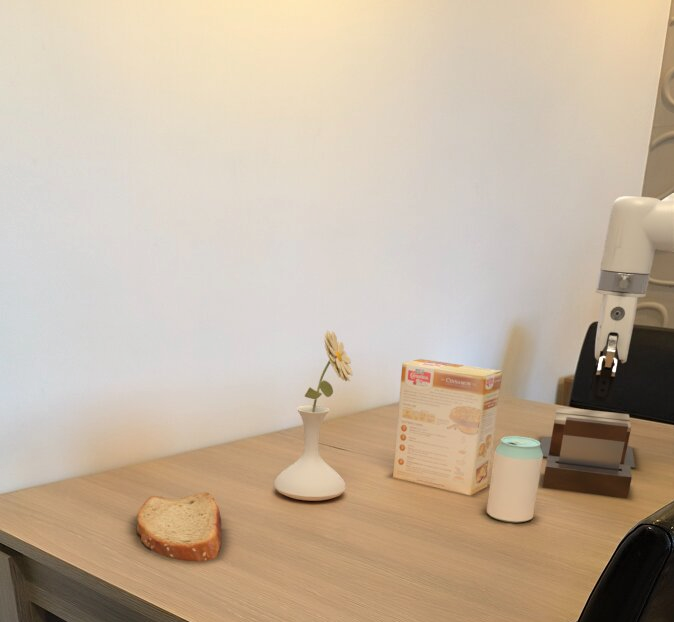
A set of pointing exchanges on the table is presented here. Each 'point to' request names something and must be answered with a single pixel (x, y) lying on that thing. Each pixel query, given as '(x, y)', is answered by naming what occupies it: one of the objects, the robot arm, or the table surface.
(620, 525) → the table surface
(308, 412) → the flower in vase
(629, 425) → the wooden box
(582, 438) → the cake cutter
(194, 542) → the bread slice
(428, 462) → the coffeecake box
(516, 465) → the can
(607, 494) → the slotted wooden block
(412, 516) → the table surface
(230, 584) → the table surface
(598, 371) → the robot arm
